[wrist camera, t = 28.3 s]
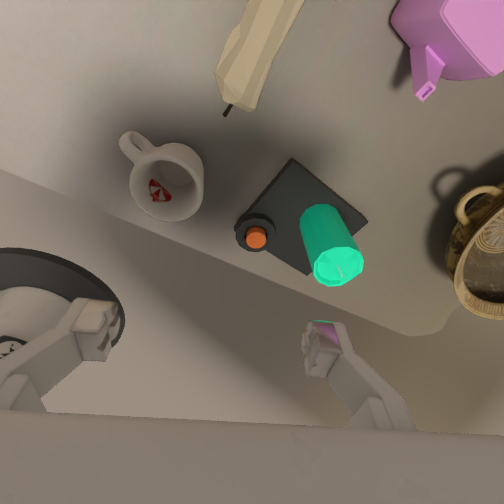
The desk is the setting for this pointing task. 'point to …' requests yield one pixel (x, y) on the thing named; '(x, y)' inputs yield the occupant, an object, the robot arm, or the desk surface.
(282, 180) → the scale
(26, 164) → the desk surface
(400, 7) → the teapot
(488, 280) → the ceramic bowl
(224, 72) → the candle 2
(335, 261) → the candle
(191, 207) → the cup
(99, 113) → the desk surface
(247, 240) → the button
